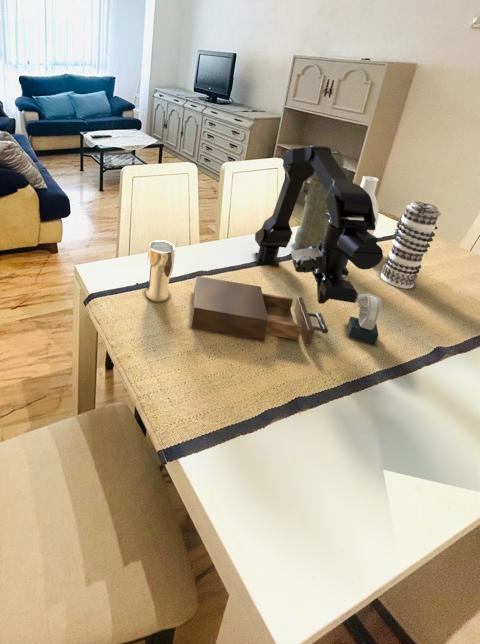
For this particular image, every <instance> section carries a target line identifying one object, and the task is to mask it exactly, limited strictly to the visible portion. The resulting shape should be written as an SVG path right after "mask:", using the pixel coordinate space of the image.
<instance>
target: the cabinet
mask: <svg viewBox="0 0 480 644" xmlns="http://www.w3.org/2000/svg"><path fill="white" fill-rule="evenodd" d="M262 293H263V290H262V286H260V285H256V284H255V285H253V284H248V283H242V282H237V281H229V280H223V279H216V278H211V277H205V276H199V275H196V276H195V283H194V290H193V299H192V313H191V329H194V330H200V331H205V332H209V333H215V334H220V335H226V336H233V337H237V338H243V339H248V340H253V341H259V342H264V339H265V335H266V334H265V331H266V326H267V322H268V319H267V314H266V309H265V304H264V300H263V295H262Z"/></svg>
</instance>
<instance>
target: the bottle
mask: <svg viewBox="0 0 480 644" xmlns="http://www.w3.org/2000/svg"><path fill="white" fill-rule="evenodd" d="M361 180H362V181H361V183H360V185H359V186H361V187H362V188H363V189H364V190H365V191H366V192H367V193H368V194H369V196H370V198H371V200H372V205H373V211H374V215H375V219H376V222H375V228H377V225H378V221H379V203H378V200H377V197H376V189H377V185H378V182H379V178H378V177H374V176H369V175H363V176H362V179H361ZM347 218H349V219H350V220H364V219H363V218H350V217H347ZM367 232H369V233H370V234H371V235H374V232H375V230H367Z"/></svg>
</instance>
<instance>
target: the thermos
mask: <svg viewBox="0 0 480 644" xmlns="http://www.w3.org/2000/svg"><path fill="white" fill-rule="evenodd" d="M330 149H331V148H330ZM331 154H332V156H333V157H334V159H335V160H336V162H337V163H338V165H339V166H340V168H341V169H342V171H343V172H344V174H345V175H346V177H347V178H348V179H349V176H350V172H349V170H348V168H346V167H344V165H345V164H344V161H345V157H344V156H345V155H344V153H343V152H342V151H341V150H337V149H331ZM308 180H309V178H308V179H306V180H305V181H304V182H303V185H302V188H301V189H302V190H301V193H303V194H304V195H305V196H304V201H305V204H304V208H303V212H302V215H301V220H300V225H299V226H298V228H297V230H296V232H295V237H294V243H293V249H294V250H299V249H306V248H309V247H311V246H315V247H317V244H318V243H319V242H323V239H324V236H325V232H326V228H327V225H328V221H329V219H328V218H327V217H325V214H326V213H329V211H328V208H327V205H326V202H325V198H326V196H327V192H326V189H325V187H324V186H323V184H322V182H321V181H320V179H319V177H318V175H317V174H316V172H314V174H313V175H312V176H311V180H310V182H308ZM307 183H308V185H307ZM306 187H307V188H306Z"/></svg>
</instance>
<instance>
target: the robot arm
mask: <svg viewBox="0 0 480 644" xmlns="http://www.w3.org/2000/svg"><path fill="white" fill-rule="evenodd" d="M282 160H283V161H282V162H283V163H282V168H283V170H284V173H285V177H284V180H283V182H282V186H281V188H280V190H279V191H280V192H279V195H278V197H277V201H276V204H275V206H274V210H273V212H272V215H271V216H269V217H268V218H266V220H265V221H264V222H263V224H262V225H261V228H260V229H259V230H258V231H256V232H255V233H254V234H255V235H254V241H255V242H256V243H257V245H258V248H259V249H258V252H255V254H254V255H255V256H254V257H255V259H256V263H257V264H258V265H263V266H269V267H275V268H276V267H277V268H279V267H280V265H279V261H278V255H279V252H280V251H279V250H280V248H285V249H287V247H288V245H289V243H290V242H291V238H292V235H293V230H292V228H291V225H290V220H291V218H292V215H293V212H294V209H295V206H296V204H297V201H298V199H299V195H300V193H301V191H302V190H301V189H303V184H304V181H305V180H306V179H308V180H309V179H310V178H311V177H313V176H314V172H316V174H317V175H318V177H319V179H320V181H321V182H322V184H323V186H324V187H325V189H326V192H327V196H326V198H325V202H326V205H327V208H328V211H329V213H326V214H325V217H327V218H328V219H329V221H328V225H327V228H326V232H325V236H324V239H323V242H319V243H318V244H317V247H315V246H311V247H309V248H306V249H299V250H295V249H294V250H291V252H290V253H291V260H292V265H293V267H294V271H296V272H297V273H304V274H307V273H312V275H313V277H314V280H315V282H316V287H317V288H316V292H317V293H316V296H317V297H316V298H317V303H318V304H319V305H320V304H321V305H324V304H325V303H326V302H328V301H329V300H332V301H333V300H334V301H340V302H346V303H352V304H355V303H357V302H358V300H357V298H358V295H360V294H359V292H358V291H357V290H356V288H355V286H354V284H353V283H352V282H351V281H350V280H346V278H345V276H346V277H348V275H349V273H350V271H349V270H348V268H347V266H348V263H349V261H350V263H352V264H353V266H355V267H356V268H357V269H359V270H371V269H373V268H376V267H377V266H378V265H379V264H380V263H381V262H382V261H383V258H384V253H383V252H384V251H383V248H382V247H381V246H380V245H379V244H378V241H379V240H378V239H379V238H378V237H376V236H375V235H374V234H373V235H371V234H370V233H369V232H367V230H374V231H376V228H377V227H375V222H376V219H375V215H374V211H373V205H372V200H371V198H370V196H369V194H368V193H367V192H366V191H365V190H364V189H363V188H362V187H361V186H360V185H359V184H357V183H354V182H352V181H351V180H350V179H349V177H348V178H347V177H346V175H345V172H344V171H342V169H341V168H340V166H339V165H338V163H337V162H336V160H335V159H334V157H333V156H332V154H331V147H329V146H327V145H314V144H312V145H307V146H305V147H300V148H297V147H291V148H289V149H287V150H286V152H285V153H284V154H283V158H282ZM347 217H350V218H363V219H364V220H350V219H349V218H347Z"/></svg>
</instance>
